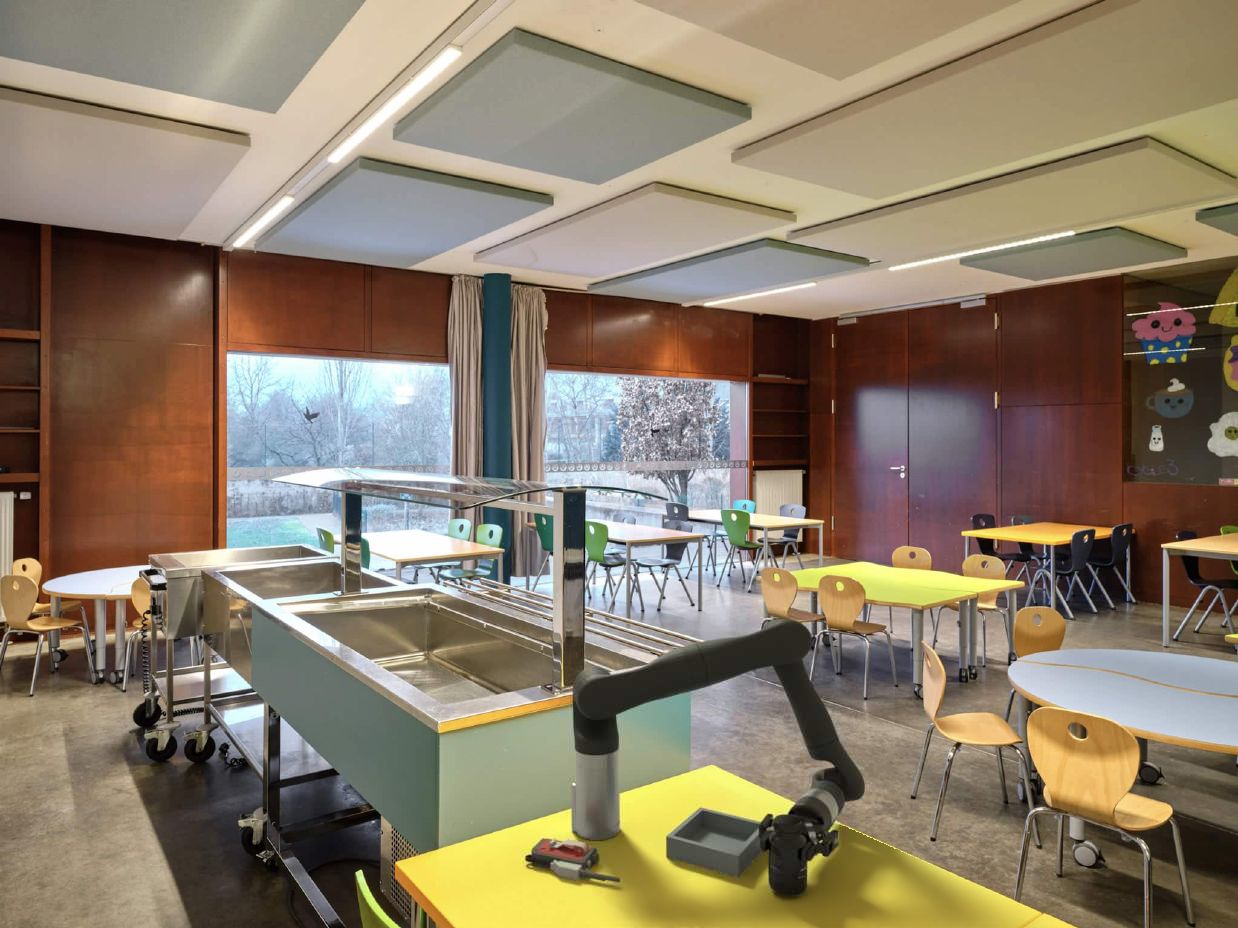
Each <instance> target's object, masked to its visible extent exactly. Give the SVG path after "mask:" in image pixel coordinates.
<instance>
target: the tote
mask: <svg viewBox="0 0 1238 928" xmlns="http://www.w3.org/2000/svg"><path fill="white" fill-rule="evenodd" d="M760 823H761V821H758V820H755V819H750V818H746V817H741V816H738V815H733V814H729V813H726V812H722V811H719V810H714V809H713V810H712V809H709V808H705V807H701V806H700V807H699V808H698V809H697V810H695V811H694V812H693V813H692V814H690V815H689V816H688V817H687V818H686V819H685V820H683V821H682V822H681V823H680V824H679V825H677V826H676V827H675V828H674V829H673V830H671V831H670V832H669V833H668V834H667V835H666V836H665V848H666V849H665V851H666V852H665V853H666V855H665V856H666V858H667V859H671V860H675V861H679V862H683V863H686V864H689V865H692V864H693V865H692V866H695V867H696V866H697V867H700V868H702V867H704V868H703V869H706V868H707V870H709V869H711V871H713V870H716V871H719V872H718V873H720V872H722V873H721V874H723V873H726V874H725V875H727V874H728V876H730V875H732V876H731V877H734V876H735V877H734V878H737V879H738V878H740V877H741V876H742V875H743V873H744V872H745V871H746V870H747V869H748V868H749V867H750V866H751V864H752V863H753V862H754V861H755V860H756V859H757V858H758V856H759V855H760V854H761V853H762V852H763V851H762V848H760V839H759V824H760ZM755 858H756V859H755ZM754 859H755V860H754ZM752 861H753V862H752ZM747 867H748V868H747ZM744 870H745V871H744ZM716 871H715V872H716ZM740 875H741V876H740ZM739 876H740V877H739Z"/></svg>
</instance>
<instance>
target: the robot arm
mask: <svg viewBox="0 0 1238 928" xmlns="http://www.w3.org/2000/svg"><path fill="white" fill-rule="evenodd" d="M812 644H813V638H812V633H811V632H810V629H808V627H807V626H806V625H804V624H803V623H802V622H800V621H799V620H794V619H792V618H791V619H790V618H785V619H784V618H777V619H774V620H770V621H768V622H767V623H766V624H765V625H764V626H763V628H762V629H760V630H758V631H755V632H753V633H749V634H746V635H741V636H740V635H739V636H735V637H734V636H733V637H725V638H723V637H721V638H716V639H709V640H703V641H700V642H695V643H691V644H688V645H684V646H680V647H677V648H674V649H672V650H669V651H668V652H665V653H663V654H662V655H660V656H658V657H657V658H655V659H654V660H652V661H650V662H647V664H645V665H643V666H641V667H638V668H635V669H632V670H627V671H622V672H617V673H612V674H611V672H610V671H608V670H607V669H605V668H603V667H600V666H589V667H587V668H585V669H583V670H581V671H580V672H579V673H578V675H577V676H576V677H575V679H574V682H573V685H572V725H573V727H572V728H573V729H572V730H573V738H574V767H575V768H574V774H575V775H574V779H575V780H574V781H575V782H573V783H572V784H571V786H570V796H571V798H570V804H571V807H570V808H571V813H570V814H571V817H570V818H571V831H573V832H575V833H576V834H577V836H579V837H580V838H582V839H585V840H591V841H602V840H609V839H612V838H613V837H615V836H617V835H618V834H619V833H620V830H621V815H620V813H621V810H620V809H621V808H620V807H621V803H620V801H621V799H620V798H621V797H620V796H621V795H620V794H621V792H620V788H621V787H620V784H621V783H620V737H619V736H620V735H619V729H618V720H617V715H620V714H623V713H624V712H627V711H629V710H632V709H634V708H636V707H640V706H642V705H644V704H647V703H651V702H655V701H659V700H663V699H667V698H671V697H674V696H675V697H676V696H678V695H682V694H686V693H690V692H694V691H697V690H700V689H705V688H708V687H711V686H713V685H716V684H719V683H723V682H725V681H728V680H729V681H730V680H731V679H733V678H737V677H740V676H741V675H744V674H747V673H749V672H752V671H755V670H759V669H763V668H764V669H765V668H770V667H772V669H773V670H774V672H775V674H776V676H777V677H778V680H779V681H780V684H781V687H782V688H783V690H784V693H785V694H786V697H787V700H788V701H789V704H790V706H791V709H792V711H793V714H794V716H795V719H796V722H797V725H798V728H799V730H800V733H801V735H802V740H803V742H804V744H805V746H806V749H807V752H808V754H809V755H810V758H811V759H813V760H815V761H821V762H828V763H830V764H832V765H833V766H832V767H827V768H823V769H819V770H818V771H816V772H815V773H814V774H813V776H812V778H811V779H812V780H811V786H810V789H809V790H808V791H807V792H805V793H804V794H802V795H801V796H800V798H799V799H797V801H796V802H795V803H794V804H793V805H792V806H791V807H790V809H789V810H788V812H787V814H788V815H793V816H796V817H798V818H800V820H801V822H802V834H803V835H804V836H805V838H806V840H807V844H806V846H805V847H804V848H803V850H802V862H803V863H807V864H808V862H812V860H813V859H814V858H815V857H817V856H819V854H820V855H822V857H825V858H828V857H830V856H831V854H832V853H833V852H834V851H835V850H836V849H837V848H838V847H839V844H840V843H839V835H840V834H839V830H838V829H832V830H831V828H832V827H833V826H834V824H835V823H836V820H837V817H839V815H840V814H841V813H842V811H843V809H844V807H845V803H848V802H855V801H858V800H860V799H862V798H863V796H864V794H865V791H866V790H865V789H866V783H865V780H864V777H863V775H862V773H861V771H860V769H859V767H857V766H856V764H855V762H854V761H853V760H852V758H851V757H850V755H849V754H848V752H847V750H846V749H845V748H844V746H843V744H842V742H841V740H840V738H839V736H838V733H837V730H836V727H835V725H834V722H833V720H832V718H831V715H830V713H829V711H828V709H827V707H826V705H825V704H824V702H823V700H822V698H821V696H820V695H819V693H818V692H817V690H816V688H815V687H814V684H813V683H812V681H811V679H810V677H809V675H808V672H807V669H806V666H805V664H804V660H803V659H804V658H805V657H806V656H808V654H809V652H810V651H811V648H812ZM752 658H753V659H752ZM774 818H775V817H774V814H772V813H767V814H766V815H765V816H764V817H763V819H762V820H761V821H760V822H761V823H760V824H759V839H760V848H762V852H763V853H768V839H769V836H770V834H771V833H772V832H773V831H774V827H773V826H774ZM830 830H831V831H830Z"/></svg>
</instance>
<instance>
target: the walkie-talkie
mask: <svg viewBox="0 0 1238 928" xmlns="http://www.w3.org/2000/svg"><path fill="white" fill-rule="evenodd" d="M530 852H531V853H530V854H526V855H525V857H524V859H525V861H526V862H527V863H530V864H531V865H532V866H534V867H537V868H538V867H539V868H542V869H547V870H548V869H549V870H551V871H552V872H553V873H554V874H555V875H557V876H558V877H560V878H564V879H571V880H574V881H579V880H580V879H581V878H582V879H586V878H587V879H593V880H597V881H602V882H606V881H610V882H614V883H620V882H621V879H620V877H618V876H617V877H616V876H612V875H608V874H602V873H598V872H592V871H590V869H592V867H593V866H594V865H595V866H596V865H598V864H599V861H600V854H599V852H598V848H597V847H596V846H591V845H589V844H588V843H586V842H585V841H582V840H581V841H580V840H578V841H577V840H575V839H570V838H568V839H565V840H557V838H553V839H552V838H545V837H544V838H541V839H540V840H539V841H538V842H537V843H536V844H535V845H534V846H533V847H532V848H531V851H530Z"/></svg>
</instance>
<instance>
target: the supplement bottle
mask: <svg viewBox="0 0 1238 928" xmlns="http://www.w3.org/2000/svg"><path fill="white" fill-rule="evenodd" d="M773 818H774V826H773V827H774V831H773V832H772V833H771V834H770V836H769V839H768V851H767V854H768V856H767V858H768V864H767V865H768V868H767V870H768V871H767V872H768V874H767V875H768V876H767V877H768V881H767V882H768V885H769V887H770V889H771V890H772V891H773V892H774V893H776V894H778V895H780V896H781V895H782V896H785V897H797V896H800V895H803V894H804V893H805V892H806V891H807V889H808V862H807V863H803V862H802V850H803V848H804V847H805V846H806V844H807V840H806V838H805V836H804V835H803V834H802V822H801V820H800V818H798V817H796V816H793V815H788V813H786V814H785V813H783V814H778V815H776V816H775V817H773Z"/></svg>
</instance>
